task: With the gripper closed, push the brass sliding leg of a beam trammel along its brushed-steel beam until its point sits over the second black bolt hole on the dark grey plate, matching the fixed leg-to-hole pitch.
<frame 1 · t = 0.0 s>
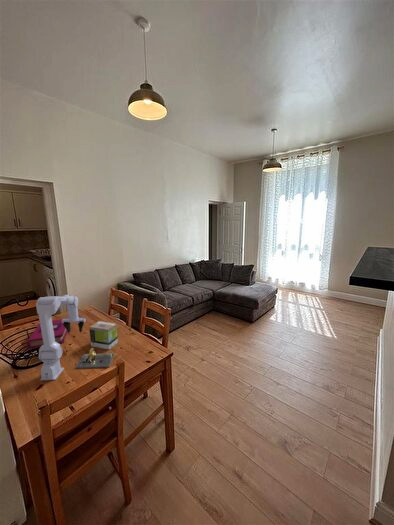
hand: (75, 331, 148), 10 cm above the table, fingers open, 7 cm apart
book: (51, 337, 161), on the table
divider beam: (96, 357, 133), on the bolt plate, point 2 cm above the table
tea box: (104, 344, 151), on the table
bolt plate: (95, 361, 133), on the table
slider leg: (91, 354, 133), point 4 cm above the table, slide at 0.0 cm
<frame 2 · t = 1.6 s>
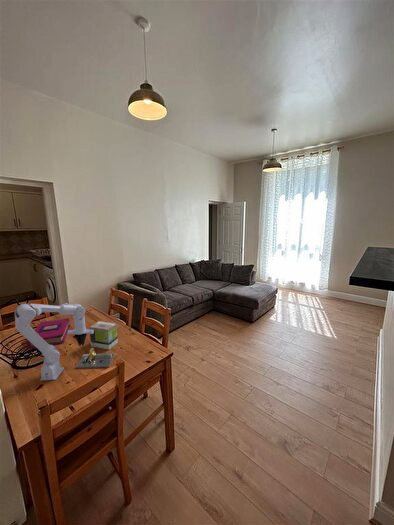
hand: (81, 344, 132), 10 cm above the table, fingers closed
nothing on the table moved.
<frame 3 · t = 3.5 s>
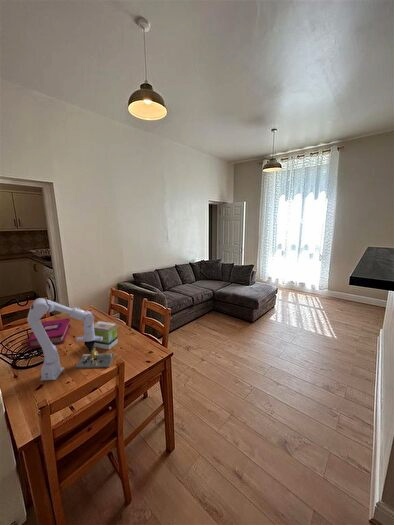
hand: (91, 351, 134), 6 cm above the table, fingers closed
slider leg: (93, 354, 133), point 4 cm above the table, slide at 1.3 cm, touching gripper
everything else where it was.
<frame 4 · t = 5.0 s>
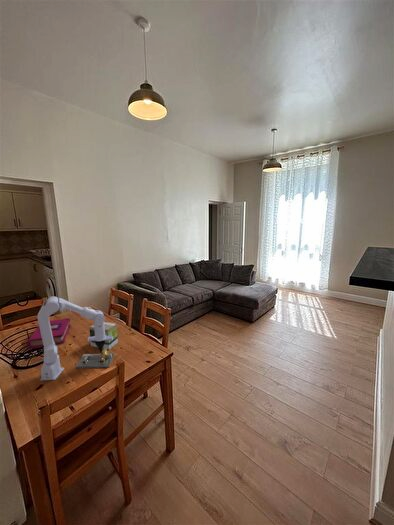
hand: (101, 350, 134), 6 cm above the table, fingers closed
slider leg: (103, 353, 133), point 4 cm above the table, slide at 7.5 cm, touching gripper
everything else where it was.
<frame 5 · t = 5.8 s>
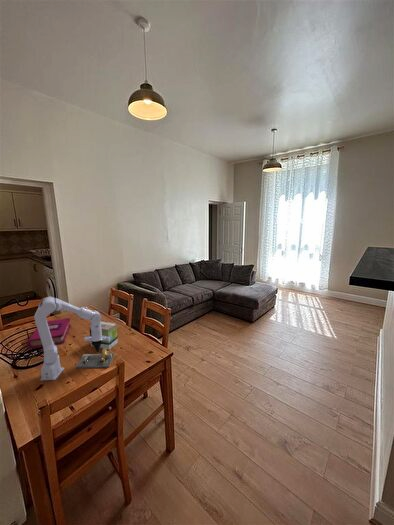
hand: (98, 351, 134), 6 cm above the table, fingers closed
slider leg: (103, 353, 133), point 4 cm above the table, slide at 7.5 cm
everything else where it was.
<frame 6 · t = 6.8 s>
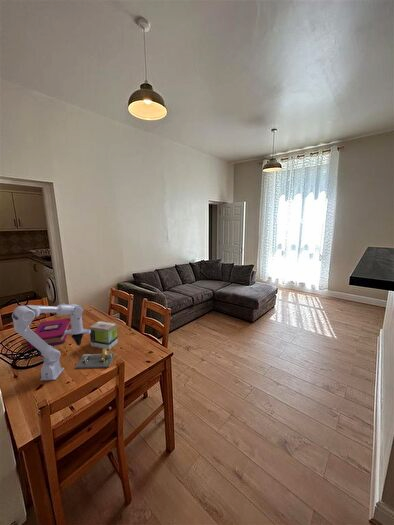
hand: (79, 344, 133), 10 cm above the table, fingers closed
nothing on the table moved.
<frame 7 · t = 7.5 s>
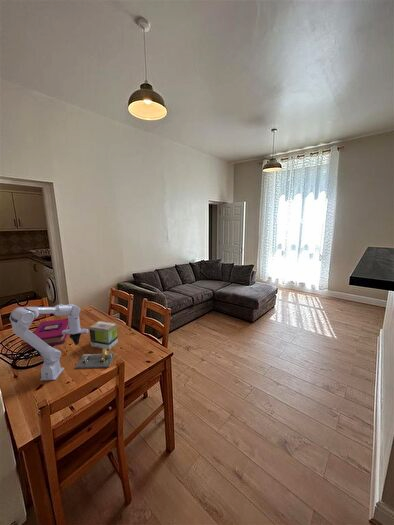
hand: (76, 343, 133), 10 cm above the table, fingers closed
nothing on the table moved.
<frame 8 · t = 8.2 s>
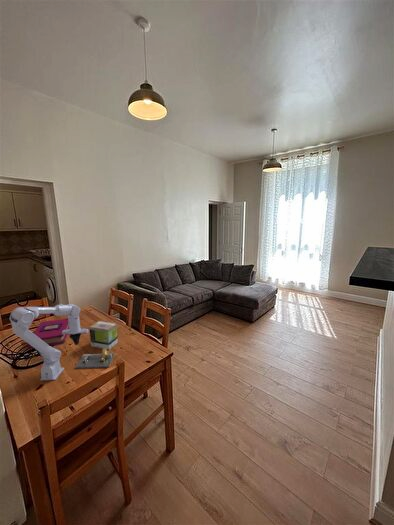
hand: (76, 343, 133), 10 cm above the table, fingers closed
nothing on the table moved.
at the end: slider leg slide at 7.5 cm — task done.
